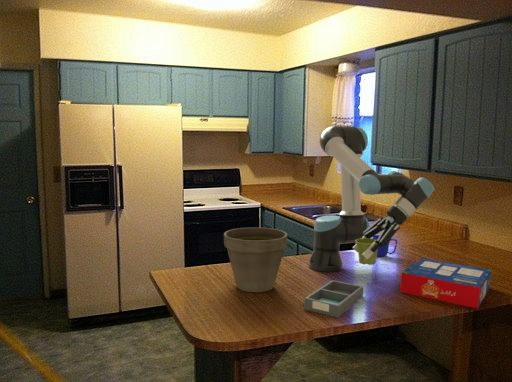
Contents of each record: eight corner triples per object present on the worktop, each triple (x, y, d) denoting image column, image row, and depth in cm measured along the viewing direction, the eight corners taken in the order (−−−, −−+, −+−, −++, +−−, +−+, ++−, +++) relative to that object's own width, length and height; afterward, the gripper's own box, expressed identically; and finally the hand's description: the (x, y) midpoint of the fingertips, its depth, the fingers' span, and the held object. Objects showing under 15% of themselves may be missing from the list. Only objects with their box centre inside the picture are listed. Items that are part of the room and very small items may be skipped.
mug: (396, 259, 230) (398, 239, 228) (371, 257, 232) (372, 238, 231) (395, 255, 238) (396, 236, 236) (371, 253, 240) (372, 234, 239)
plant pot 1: (209, 286, 182) (210, 232, 180) (250, 273, 201) (251, 224, 199) (258, 302, 167) (260, 243, 164) (298, 286, 185) (300, 233, 183)
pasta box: (419, 275, 205) (400, 292, 182) (420, 257, 204) (401, 272, 181) (489, 288, 190) (478, 309, 167) (491, 269, 189) (479, 287, 166)
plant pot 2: (366, 267, 172) (366, 245, 171) (349, 261, 181) (350, 239, 180) (385, 264, 177) (385, 242, 176) (368, 258, 185) (368, 237, 184)
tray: (303, 309, 161) (303, 298, 161) (331, 290, 182) (332, 280, 182) (337, 317, 155) (338, 306, 154) (362, 296, 176) (363, 286, 175)
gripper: (420, 223, 168) (377, 268, 168) (393, 213, 190) (355, 252, 189) (407, 209, 167) (364, 254, 166) (382, 200, 188) (343, 240, 188)
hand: (359, 253), depth 178 cm, fingers closed on plant pot 2, 9 cm apart
